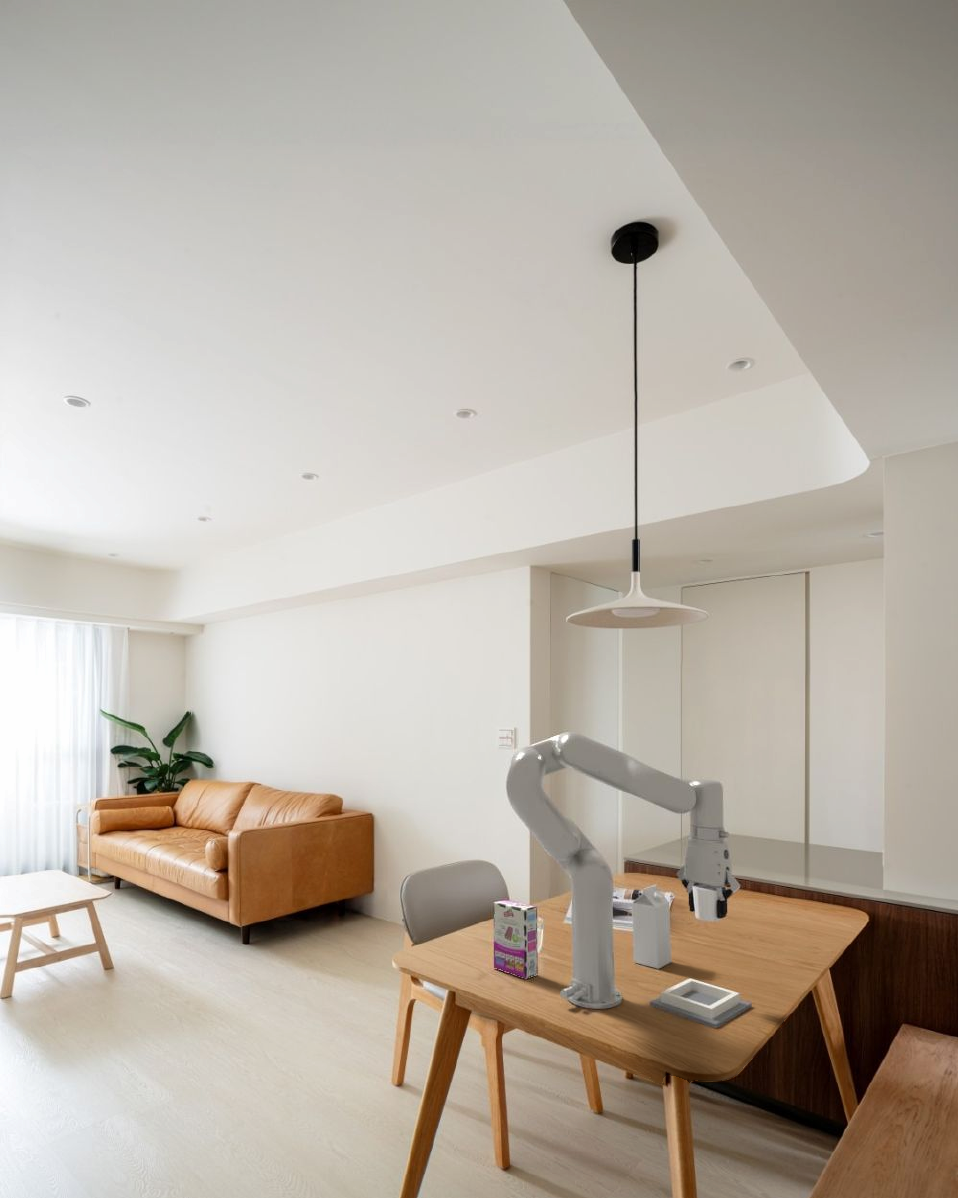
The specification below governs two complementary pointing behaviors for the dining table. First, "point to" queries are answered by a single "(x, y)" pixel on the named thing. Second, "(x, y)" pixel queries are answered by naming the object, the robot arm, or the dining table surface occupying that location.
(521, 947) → the candy bar box
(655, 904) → the milk carton
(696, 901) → the white cup
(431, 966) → the dining table surface
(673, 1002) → the holder tray
